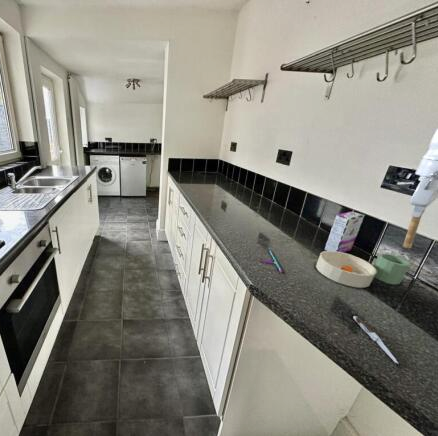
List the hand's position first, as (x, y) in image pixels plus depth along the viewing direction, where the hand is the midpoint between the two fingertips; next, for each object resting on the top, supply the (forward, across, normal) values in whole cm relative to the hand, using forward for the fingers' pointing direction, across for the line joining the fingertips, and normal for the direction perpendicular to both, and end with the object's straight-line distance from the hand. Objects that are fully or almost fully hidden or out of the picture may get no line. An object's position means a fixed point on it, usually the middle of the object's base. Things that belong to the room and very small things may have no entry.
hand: (416, 215), depth 71 cm
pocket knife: (+24, -37, -6) cm, 45 cm away
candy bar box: (+24, +9, +17) cm, 31 cm away
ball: (+21, -11, +8) cm, 25 cm away
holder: (+24, 0, 0) cm, 24 cm away
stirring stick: (+11, 0, -1) cm, 11 cm away
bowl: (+24, -11, +9) cm, 28 cm away
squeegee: (+23, -25, +28) cm, 44 cm away
